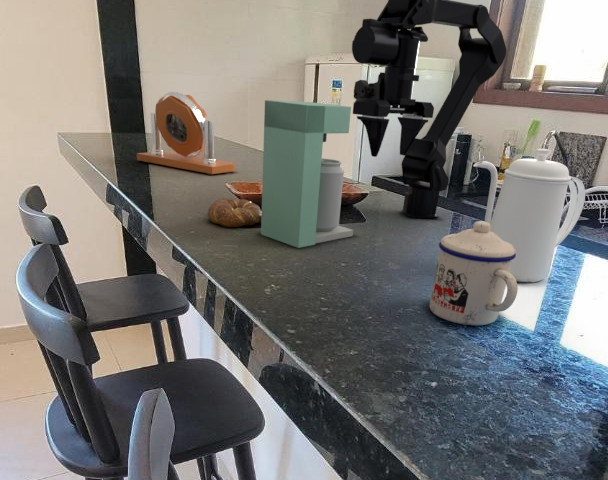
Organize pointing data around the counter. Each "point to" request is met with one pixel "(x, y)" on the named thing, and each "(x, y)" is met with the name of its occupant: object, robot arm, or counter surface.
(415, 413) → the counter surface
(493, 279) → the teacup with lid
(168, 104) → the desk clock
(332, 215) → the can
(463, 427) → the counter surface
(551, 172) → the coffeepot
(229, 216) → the pretzel
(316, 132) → the coffee maker
